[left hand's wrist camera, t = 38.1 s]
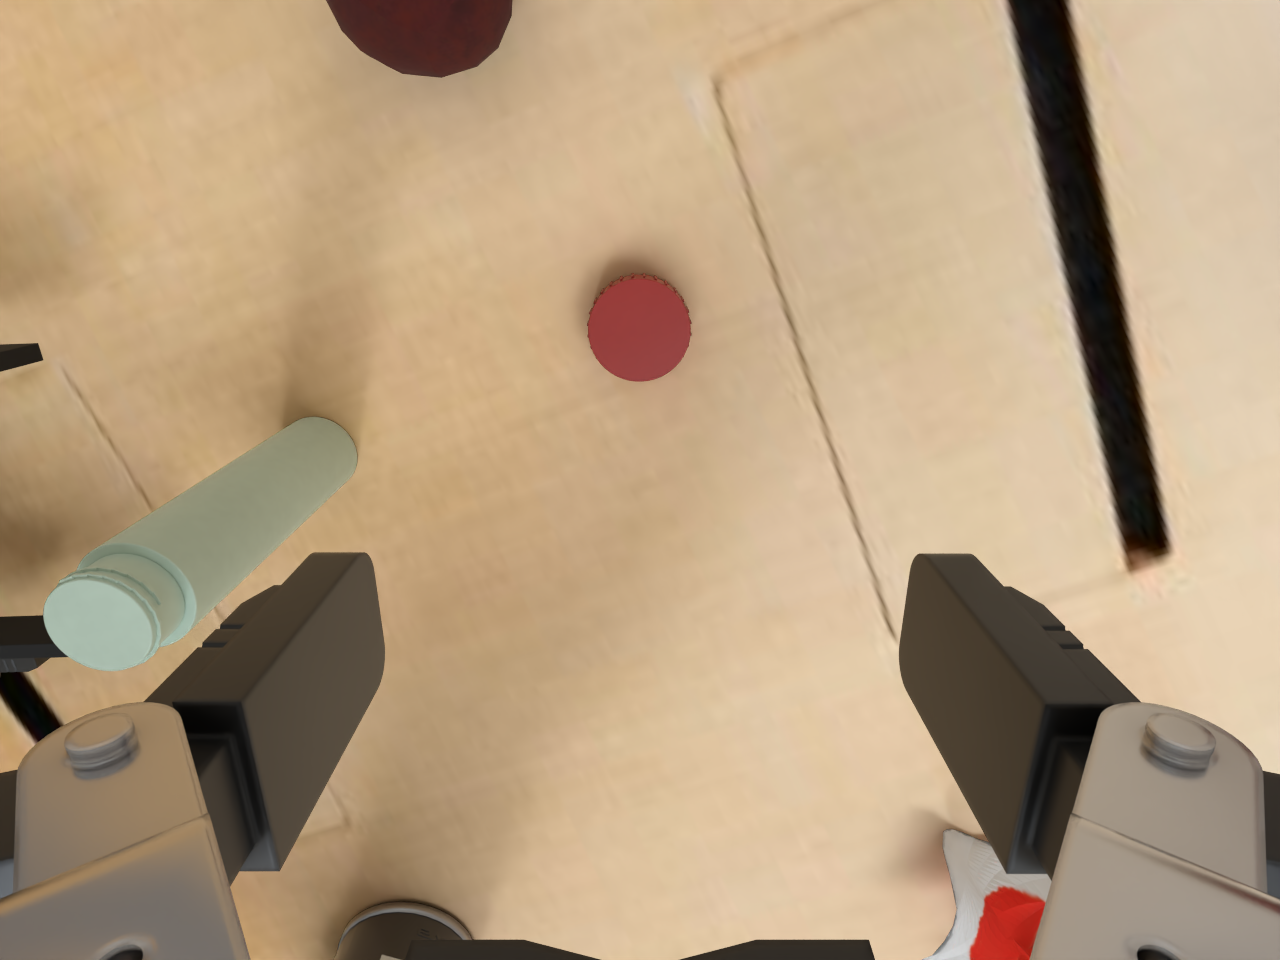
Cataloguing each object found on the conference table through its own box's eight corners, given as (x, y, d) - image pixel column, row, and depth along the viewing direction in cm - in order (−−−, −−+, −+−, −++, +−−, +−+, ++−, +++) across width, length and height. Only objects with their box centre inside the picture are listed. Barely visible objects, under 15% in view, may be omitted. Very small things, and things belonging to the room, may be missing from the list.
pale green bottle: (371, 472, 40) (189, 657, 24) (306, 499, 40) (84, 696, 24) (333, 405, 39) (111, 551, 22) (266, 433, 39) (3, 595, 23)
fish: (925, 1064, 49) (1033, 1176, 40) (852, 830, 51) (938, 882, 41) (1054, 996, 52) (1185, 1085, 42) (980, 774, 54) (1090, 811, 44)
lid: (699, 284, 36) (703, 289, 35) (676, 382, 38) (678, 392, 36) (599, 263, 36) (597, 266, 34) (581, 362, 38) (578, 371, 36)
